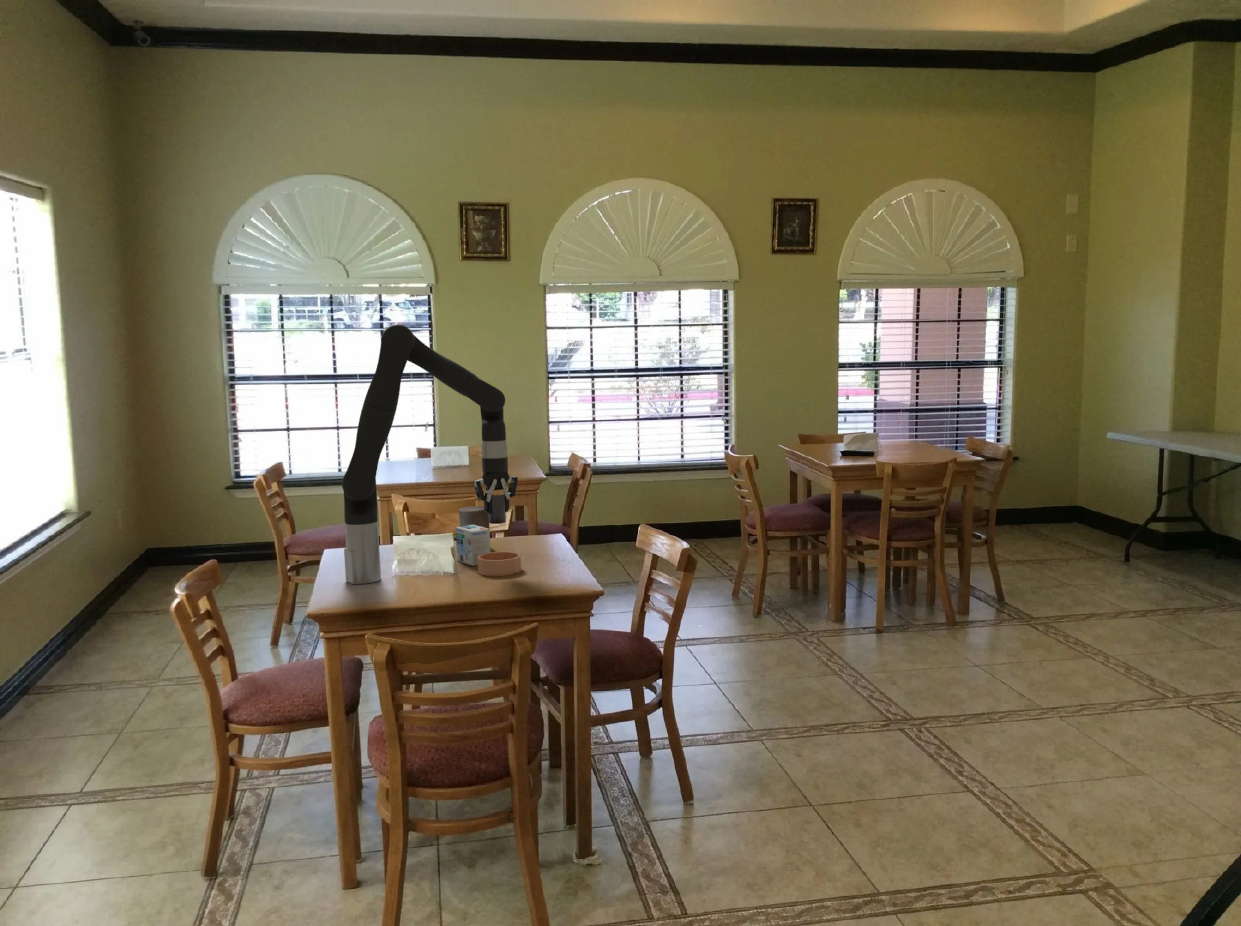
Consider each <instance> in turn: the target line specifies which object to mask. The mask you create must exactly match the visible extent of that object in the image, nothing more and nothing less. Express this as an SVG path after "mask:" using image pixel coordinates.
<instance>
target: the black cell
mask: <svg viewBox="0 0 1241 926" xmlns="http://www.w3.org/2000/svg"><path fill="white" fill-rule="evenodd" d="M488 491H489V489H488ZM490 502H491V514H489V525H490V524H491V525H492V524H493V525H498V524H499V525H500V524H501V525H502V524H505V523H507V515H506V513H507V512H506V510H505V490H504V489H495V490H493V494H492V495H491V499H490Z"/></svg>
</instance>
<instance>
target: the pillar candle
mask: <svg viewBox="0 0 1241 926" xmlns="http://www.w3.org/2000/svg"><path fill="white" fill-rule="evenodd" d="M458 511H459V512H458V515H459V527H461V526H468V525H477V526H480V527H484V528H488V529H490V523H489V514H486V512H485V511H484V505H477V506H476V505H473V506H466V507H461V508H459V509H458Z"/></svg>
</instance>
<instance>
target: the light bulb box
mask: <svg viewBox="0 0 1241 926" xmlns="http://www.w3.org/2000/svg"><path fill="white" fill-rule="evenodd" d="M490 530H491V529H490V528H489V529H488V528H484V527H480V526H477V525H468V526H461V527H460V526H455V543H456V545H455V546H456V547H455V549H456V561H458V562H461V563H463V564H465V565H469V566H472V567H474V566H478V564H477V558H478V556H479V555H482V554H485V553H491V552H492V551H491V548H490V547H491V531H490Z"/></svg>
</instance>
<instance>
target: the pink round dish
mask: <svg viewBox="0 0 1241 926" xmlns="http://www.w3.org/2000/svg"><path fill="white" fill-rule="evenodd" d="M521 555H522V554H521V553H519V552H515V551H491V553H485V554H482V555H479V556H478V558H477V564H478V565H477V574H479V575H481V576H489V577H499V576H500V577H503V576H510V574H511V575H515V574H514V573H516V574H518V573H520V572H522V560H521V559H522V558H521V557H522V556H521Z"/></svg>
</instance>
